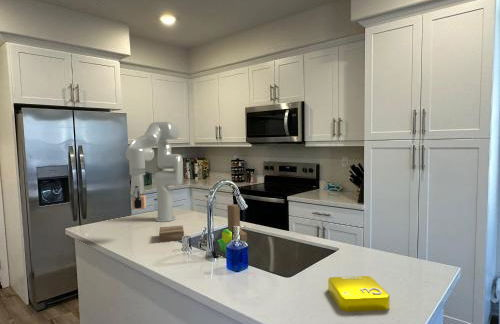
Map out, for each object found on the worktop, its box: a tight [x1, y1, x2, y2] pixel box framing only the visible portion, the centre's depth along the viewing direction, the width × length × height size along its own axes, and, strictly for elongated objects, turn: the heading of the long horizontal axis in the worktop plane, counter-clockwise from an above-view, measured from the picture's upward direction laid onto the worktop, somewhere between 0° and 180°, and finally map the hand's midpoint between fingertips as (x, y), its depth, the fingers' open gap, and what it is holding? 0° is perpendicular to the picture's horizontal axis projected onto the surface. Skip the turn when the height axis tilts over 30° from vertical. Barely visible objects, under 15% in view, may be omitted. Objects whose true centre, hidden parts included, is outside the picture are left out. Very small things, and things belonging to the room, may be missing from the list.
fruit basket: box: [217, 228, 246, 254], centre depth 143 cm, size 11×9×11 cm
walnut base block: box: [158, 225, 185, 243], centre depth 166 cm, size 12×12×5 cm
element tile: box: [327, 275, 390, 313], centre depth 100 cm, size 15×15×5 cm
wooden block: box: [226, 203, 248, 243], centre depth 159 cm, size 9×4×18 cm, turn 50°
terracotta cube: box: [131, 194, 147, 211], centre depth 165 cm, size 6×6×6 cm
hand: (139, 206), depth 165 cm, fingers closed on terracotta cube, 6 cm apart
